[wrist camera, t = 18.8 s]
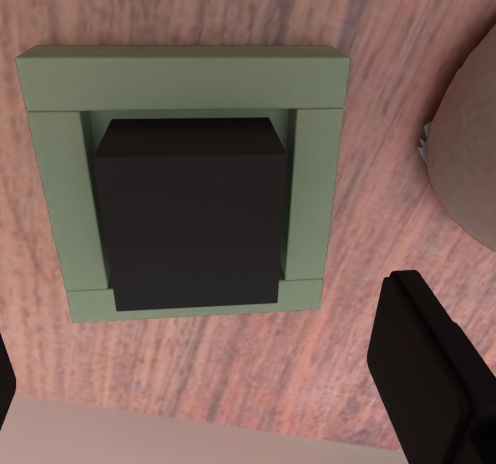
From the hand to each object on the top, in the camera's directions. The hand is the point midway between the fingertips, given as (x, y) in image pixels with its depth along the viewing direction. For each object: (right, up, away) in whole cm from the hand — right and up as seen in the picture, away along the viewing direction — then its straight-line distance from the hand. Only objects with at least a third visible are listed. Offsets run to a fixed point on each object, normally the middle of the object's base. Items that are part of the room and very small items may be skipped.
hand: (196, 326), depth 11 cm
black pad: (-1, +4, +8) cm, 9 cm away
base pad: (-1, +5, +9) cm, 10 cm away
